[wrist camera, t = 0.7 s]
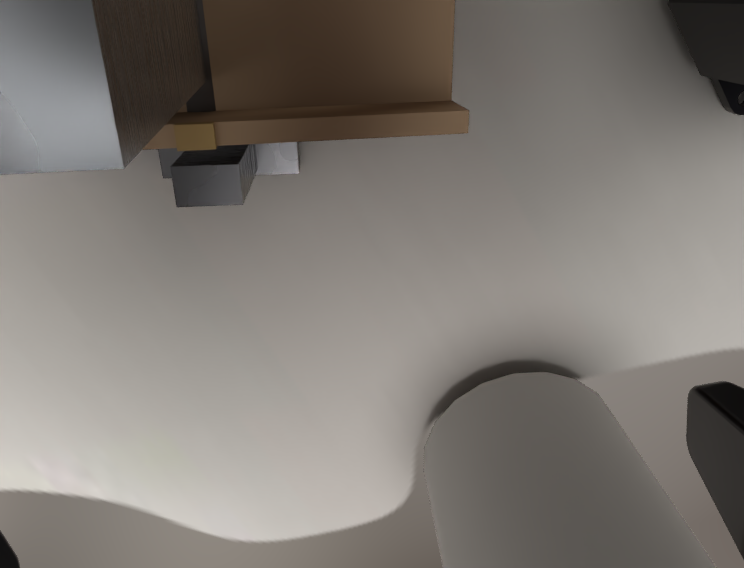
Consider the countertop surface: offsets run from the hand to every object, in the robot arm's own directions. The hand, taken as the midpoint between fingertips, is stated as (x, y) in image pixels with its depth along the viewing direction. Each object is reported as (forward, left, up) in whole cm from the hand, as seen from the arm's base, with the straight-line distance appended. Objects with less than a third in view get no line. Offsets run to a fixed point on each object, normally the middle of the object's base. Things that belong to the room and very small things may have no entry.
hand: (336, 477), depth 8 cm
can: (0, +12, -13) cm, 18 cm away
